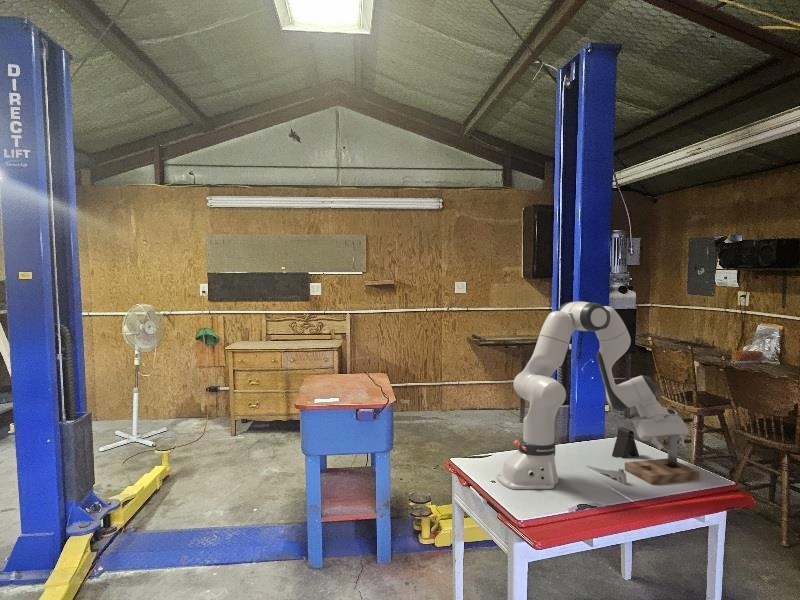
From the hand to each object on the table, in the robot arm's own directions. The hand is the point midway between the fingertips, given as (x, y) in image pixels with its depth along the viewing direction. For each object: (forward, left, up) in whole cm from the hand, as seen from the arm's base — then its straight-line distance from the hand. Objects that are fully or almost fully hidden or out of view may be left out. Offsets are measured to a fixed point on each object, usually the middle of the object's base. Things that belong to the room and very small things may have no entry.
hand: (672, 448), depth 176 cm
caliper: (-25, +5, -11) cm, 28 cm away
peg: (0, 0, -10) cm, 10 cm away
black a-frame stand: (-3, +22, -11) cm, 25 cm away
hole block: (-5, 0, -11) cm, 12 cm away
